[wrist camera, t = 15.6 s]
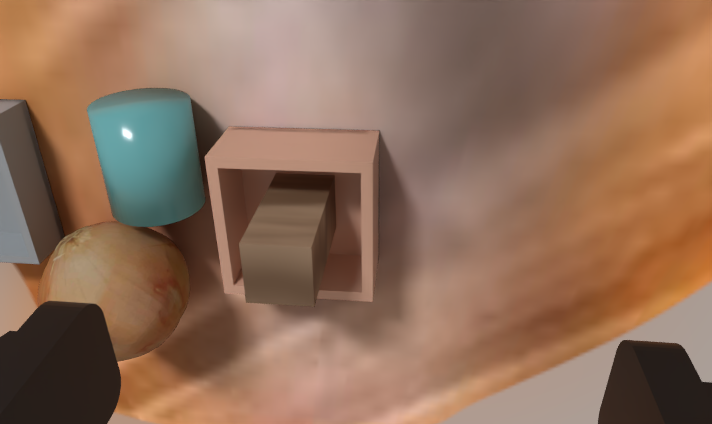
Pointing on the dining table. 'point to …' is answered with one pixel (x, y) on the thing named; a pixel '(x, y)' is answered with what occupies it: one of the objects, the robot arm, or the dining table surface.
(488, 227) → the dining table surface
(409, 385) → the dining table surface
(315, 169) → the planter
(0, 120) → the grey tub
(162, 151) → the teal glossy cylinder
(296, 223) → the walnut block
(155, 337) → the onion
